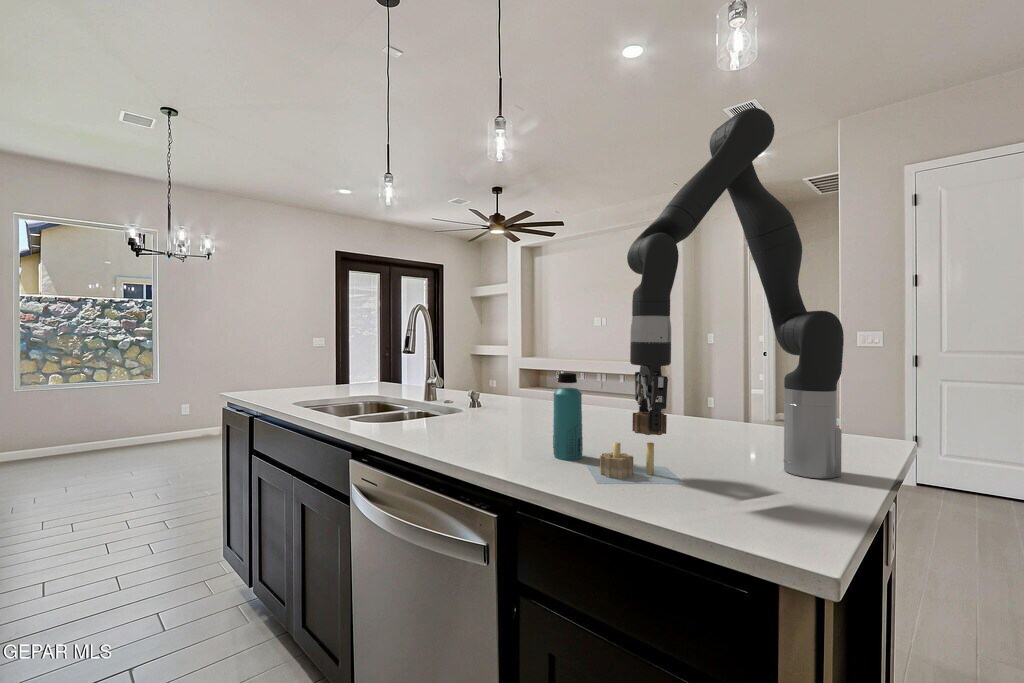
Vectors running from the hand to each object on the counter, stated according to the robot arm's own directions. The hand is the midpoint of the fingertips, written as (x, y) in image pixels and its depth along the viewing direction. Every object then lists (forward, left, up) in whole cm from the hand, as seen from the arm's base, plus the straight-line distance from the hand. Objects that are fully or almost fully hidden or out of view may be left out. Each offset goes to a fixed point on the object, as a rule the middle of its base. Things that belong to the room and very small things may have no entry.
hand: (649, 427), depth 93 cm
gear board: (+3, 0, -10) cm, 11 cm away
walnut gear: (0, 0, -1) cm, 1 cm away
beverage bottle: (+14, -14, -11) cm, 23 cm away
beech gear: (+6, 0, -9) cm, 11 cm away
